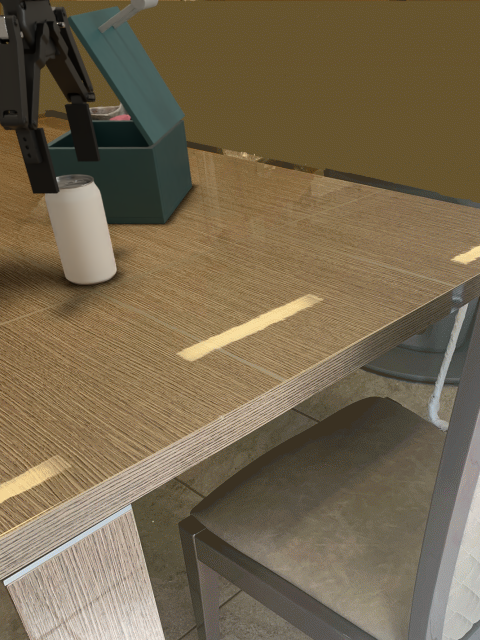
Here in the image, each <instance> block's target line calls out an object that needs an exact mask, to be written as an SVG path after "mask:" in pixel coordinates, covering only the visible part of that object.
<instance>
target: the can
mask: <svg viewBox="0 0 480 640" xmlns="http://www.w3.org/2000/svg"><path fill="white" fill-rule="evenodd" d="M56 179H57V183H58V187H59V191H60V192H58V193H57V194H44V201H45V205H46V209H47V212H48V217H49V220H50V225H51V227H52V228H51V229H52V232H53V236H54V239H55V243H56V247H57V251H58V255H59V259H60V262H61V266H62V270H63V272H64V277H65V279H66V280H68V281H69V282H71V283H72V284H74V285H79V286H93V285H97V284H103V283H105V282H107V281H109V280H111V279H112V278H114V276H115V275H116V273H117V270H118V268H117V265H116V259H115V254H114V249H113V244H112V240H111V236H110V235H111V234H110V230H109V224H107V221H106V216H105V211H104V207H103V202H102V198H101V194H100V191H99V189H98V187H97V186H96V185H95V183H94V178H93V177H91V176H88V175H80V174H76V175H64V176H59V177H56Z"/></svg>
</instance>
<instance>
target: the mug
mask: <svg viewBox="0 0 480 640" xmlns="http://www.w3.org/2000/svg"><path fill="white" fill-rule="evenodd" d="M89 108H90V113H91V118H92V120H110V119H111V118H113V117H116V116H119V115H129V114H128V113H127V111H126V110H125V108H124V107H123V105H122V104H121V102H120V101H119V105H115V106H114V105H113V106H97V107H89Z"/></svg>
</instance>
